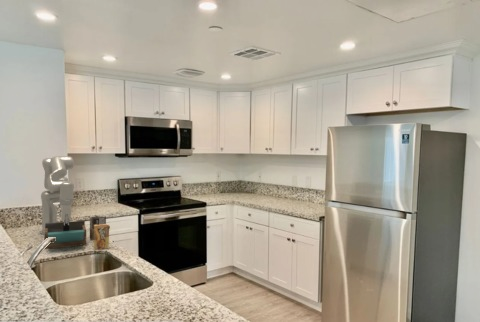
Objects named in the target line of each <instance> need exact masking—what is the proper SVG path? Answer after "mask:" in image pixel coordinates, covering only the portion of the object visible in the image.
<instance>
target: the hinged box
mask: <svg viewBox="0 0 480 322" xmlns="http://www.w3.org/2000/svg"><path fill="white" fill-rule="evenodd" d="M63 225H64V221H60V222H59V221H57V222H56V223H45V233H44V234H43V235H44V236H43V237H44V239H43V240H45V239H46V238H48V233H49V232H62V231H63ZM74 230H84V236H83V240H82V241H71V242H61V243H50V244H49V245H48V246H47V247H46V248H45V249H44V250H47V249H56V248H66V247H76V246H84V245H85V246H86V245H87V228H86V221H85V220H74V221H73V220H72V221H71V220H70V221H69V231H74Z"/></svg>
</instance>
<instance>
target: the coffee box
mask: <svg viewBox="0 0 480 322" xmlns="http://www.w3.org/2000/svg"><path fill="white" fill-rule="evenodd" d="M100 224H107V217H106V216H98V215H95V216H94V215H93V216H91V217H89V241H91V240H94V225H100Z"/></svg>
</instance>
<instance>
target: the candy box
mask: <svg viewBox="0 0 480 322" xmlns="http://www.w3.org/2000/svg"><path fill="white" fill-rule="evenodd" d="M102 248H110V224H109V223H106V224H100V225H94V241H93V250H94V249H98V250H103V249H102Z"/></svg>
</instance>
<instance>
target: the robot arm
mask: <svg viewBox="0 0 480 322" xmlns="http://www.w3.org/2000/svg"><path fill="white" fill-rule="evenodd" d="M41 165H42V167H43V170H44V179H43V180H44V181H43V184H44V187H43V188H44V189H46V190H44V191H42V192H41V194H40V200H41V206H42V208H41V210H42V211H41V219H42V220H41V222H42V224H41V230H40V231H39V234H41V235H44V233H45V223H56V222H58V216H57V215H58V208H57V206H56V205H55V203H59V205H60V206H61V211H60V214H61V215H60V217H61V218H60V220H61V221H60V222H64V225H63V231H69V222H70V221H71V215H72V205H74V188H75V185H74V183H73V181H71V180H69V179H68V178H67V177H66V175H67V174H68V171H69V170H71V169H73V168H74V166H75V161H74V158H73V157H72V156H67V155H66V156H63V155H61V156H60V155H59V156H57V155H56V156H52V157H49V158H47V157H45V158H44V159H42V164H41Z"/></svg>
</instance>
